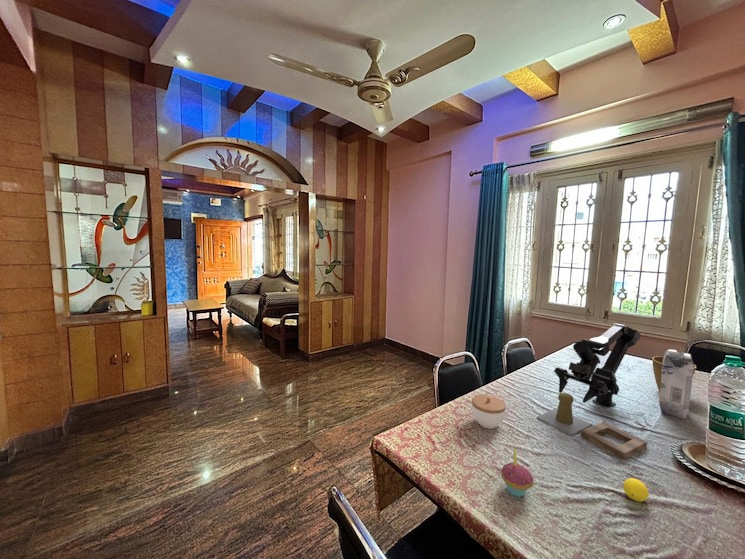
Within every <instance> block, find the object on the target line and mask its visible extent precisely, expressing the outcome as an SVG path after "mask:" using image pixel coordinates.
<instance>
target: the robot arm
mask: <svg viewBox="0 0 745 559" xmlns="http://www.w3.org/2000/svg"><path fill="white" fill-rule="evenodd" d="M640 339H641V332H639V330H638V329H634V328H632V327H629V326H627V325H626V324H620V323H612V325H611V327H610V328H608V329H607V330H605V332H604V333H602V334H601V335H600V336H597V337H592V338H590V339H584V338H583V339H582V340H580V341H577V342H576V343H574V344H573V348H572V349H573V350H574V352H575V353H576V355H577V357H578V358H579V359H580V360H579V361H578V362H576V363H574V362H569V365H568V370H569V371H570V372H571V373H569V371H568V370H567V369H566V368H563V367H561V366H560V367H559V366H557V367H556V368H554V370H553V372H554V373H555V375H556V376H557V377H558V380H559V385H558V392H559V394H560V393H563V391H564V389H565V387H566V386H567V385H568V383H569V382H568V380H570V379H571V380H573V381H576V382H579V383H580V384H581V383H582V384H583V385H584V384H585V385H587V386H588V390H587V392H586V393H585V395H584V397H583V399H582V403H584V404H585V403H587V402H588V401H590V400H592V402H594V403H596V404H598V405H601V406H603V407H605V408H610V407H613V406H616V404H617V403H616V402H613V396H614V395H615V396H616V395H617V396H618V395H619V394H618V393H619V392H620V387H619V385H618V384H617V381H618V380H617V376H616V373H617V371H618V369H619V367H620V365H621V363H622V361H623V359H624V357H625V356H626V353H627V351H628V349H629V348H631V347H633V346H635V345H636V344H637V342H639V340H640ZM612 344H614V345H613V347H612V349H610V348H611V346H612ZM610 350H611V351H610ZM609 352H610V354H609ZM607 355H608V357H607V358H606V360H605V362H604V364H603V365H602V367H597V366H598V365H599V364H601V359H600V357H599V356H601V357H605V356H607ZM593 398H594V399H593Z"/></svg>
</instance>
